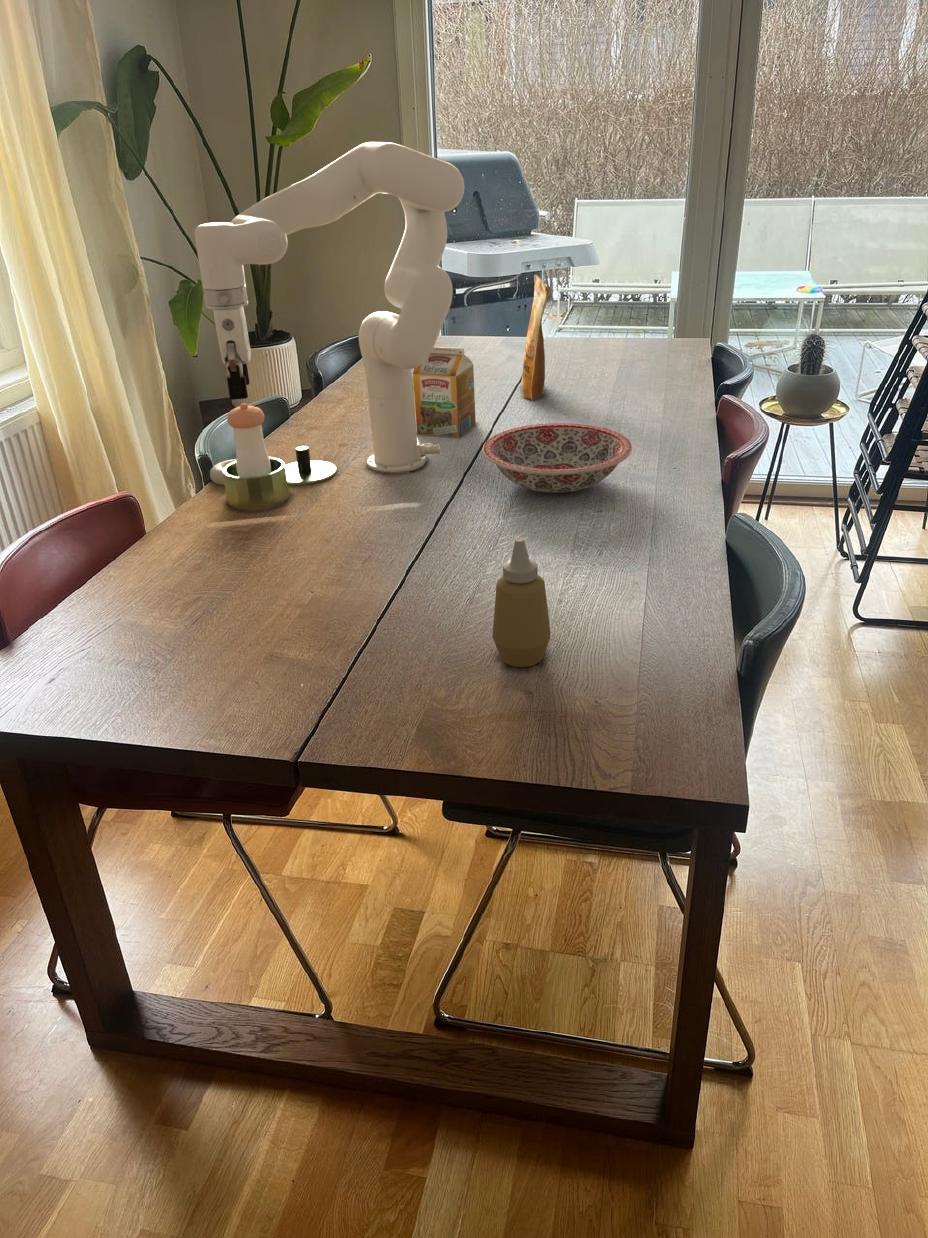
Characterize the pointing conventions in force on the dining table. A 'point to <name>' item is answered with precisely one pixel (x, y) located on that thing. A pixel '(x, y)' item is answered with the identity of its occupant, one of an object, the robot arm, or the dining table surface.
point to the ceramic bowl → (557, 455)
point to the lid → (308, 469)
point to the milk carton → (444, 393)
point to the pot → (256, 487)
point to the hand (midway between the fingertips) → (240, 391)
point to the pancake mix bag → (535, 345)
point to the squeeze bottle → (521, 611)
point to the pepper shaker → (249, 441)
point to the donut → (219, 472)
